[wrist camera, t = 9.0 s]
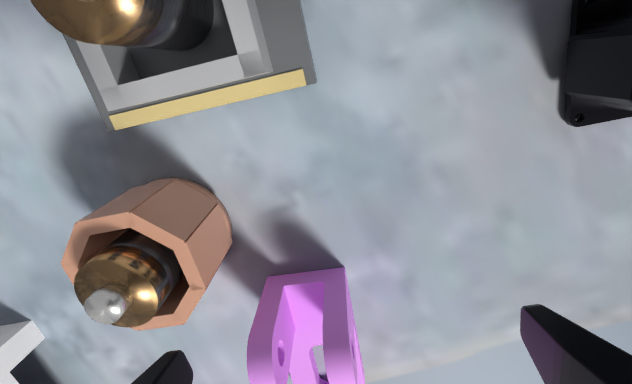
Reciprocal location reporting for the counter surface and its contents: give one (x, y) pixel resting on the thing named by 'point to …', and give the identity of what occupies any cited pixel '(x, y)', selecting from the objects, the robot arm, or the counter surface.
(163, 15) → the cell
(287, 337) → the bracket
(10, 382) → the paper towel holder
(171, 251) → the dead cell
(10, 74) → the counter surface
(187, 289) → the cup
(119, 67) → the cradle
